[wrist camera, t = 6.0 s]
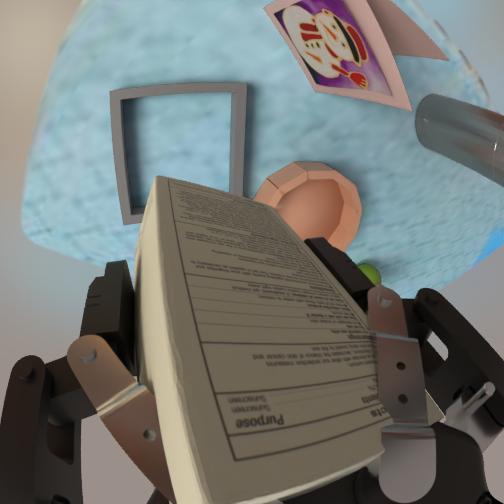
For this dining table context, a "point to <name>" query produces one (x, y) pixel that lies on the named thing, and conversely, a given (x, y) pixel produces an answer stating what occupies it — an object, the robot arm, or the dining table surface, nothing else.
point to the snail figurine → (371, 274)
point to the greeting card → (352, 45)
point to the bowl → (314, 202)
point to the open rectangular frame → (117, 96)
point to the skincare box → (249, 352)
